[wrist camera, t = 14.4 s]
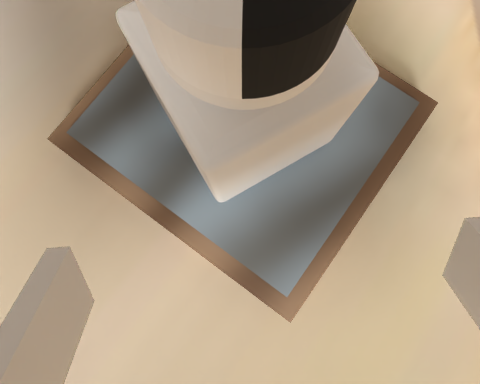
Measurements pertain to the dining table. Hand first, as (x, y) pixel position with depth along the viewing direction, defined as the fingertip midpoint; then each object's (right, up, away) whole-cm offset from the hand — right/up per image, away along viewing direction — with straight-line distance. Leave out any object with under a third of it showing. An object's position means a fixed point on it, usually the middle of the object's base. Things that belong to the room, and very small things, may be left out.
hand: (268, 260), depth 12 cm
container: (-1, +7, +9) cm, 11 cm away
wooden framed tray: (-1, +6, +12) cm, 13 cm away
